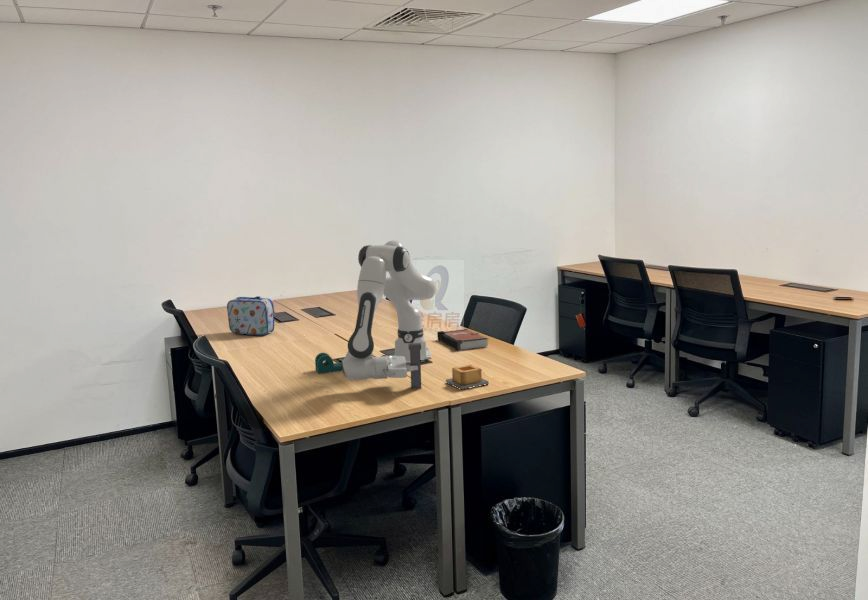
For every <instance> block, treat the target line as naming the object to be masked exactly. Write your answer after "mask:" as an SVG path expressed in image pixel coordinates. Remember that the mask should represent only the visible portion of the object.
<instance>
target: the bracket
mask: <svg viewBox="0 0 868 600" xmlns="http://www.w3.org/2000/svg"><path fill="white" fill-rule="evenodd" d="M314 361H315V363H314V364H315V372H317V374H319V375H322V374H327V373H328V374H329V372H330V373H337V371H338V372H343V369H342V361H341V362H335V363H334V360H333V358H332V357H331V356H330V355H329V354H328V353H327V352H320V353H318V354H317V355H316V357H315V359H314ZM321 373H322V374H321Z"/></svg>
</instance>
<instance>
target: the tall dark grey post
mask: <svg viewBox="0 0 868 600" xmlns="http://www.w3.org/2000/svg"><path fill="white" fill-rule="evenodd" d="M408 349H409V350H410V366H413V365H418V370H413V371H410V388H421V389H422V371H421V369H422V367H421V366H422V365H421V362H422V361H420V350H421V343H411V344H408Z"/></svg>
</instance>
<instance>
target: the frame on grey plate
mask: <svg viewBox="0 0 868 600" xmlns="http://www.w3.org/2000/svg"><path fill="white" fill-rule="evenodd" d="M451 369H452V370H451V371H452V372H451V373H452V378H447V379H445V383H446V382H447V383H449V384H451V385H454V386H456V387H458V388H460V389H464V388H469V387H473V386H479V385H484V384H489V380H487V379H484V378H483V377H482V368H481V367H477V366H475V365H473V364H468V365H462V366H457V367H451ZM447 383H446V384H447ZM449 384H448V385H449ZM451 385H450V386H451Z"/></svg>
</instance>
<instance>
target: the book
mask: <svg viewBox="0 0 868 600" xmlns="http://www.w3.org/2000/svg"><path fill="white" fill-rule="evenodd" d="M436 334H437V341H438V340H439V342H441V341H442V343H443V344H445V345H448V347H451V348H453V349H454V348H455V349H454V350H455V351H457V352H460V351H459V350H462V351H468V350H467V349H469V350H475V349H474V348H477V349H482V348H481V347H485V348H487V347H486V346H489V345H488V342H489V338H488V337H485V336H482V335H481V334H480V333H479V332H474V331H472V330H470V329H468V328H465V329H456V330H449V331H448V330H446V331H443V330H442V331H441V330H439V331H437V333H436Z"/></svg>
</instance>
